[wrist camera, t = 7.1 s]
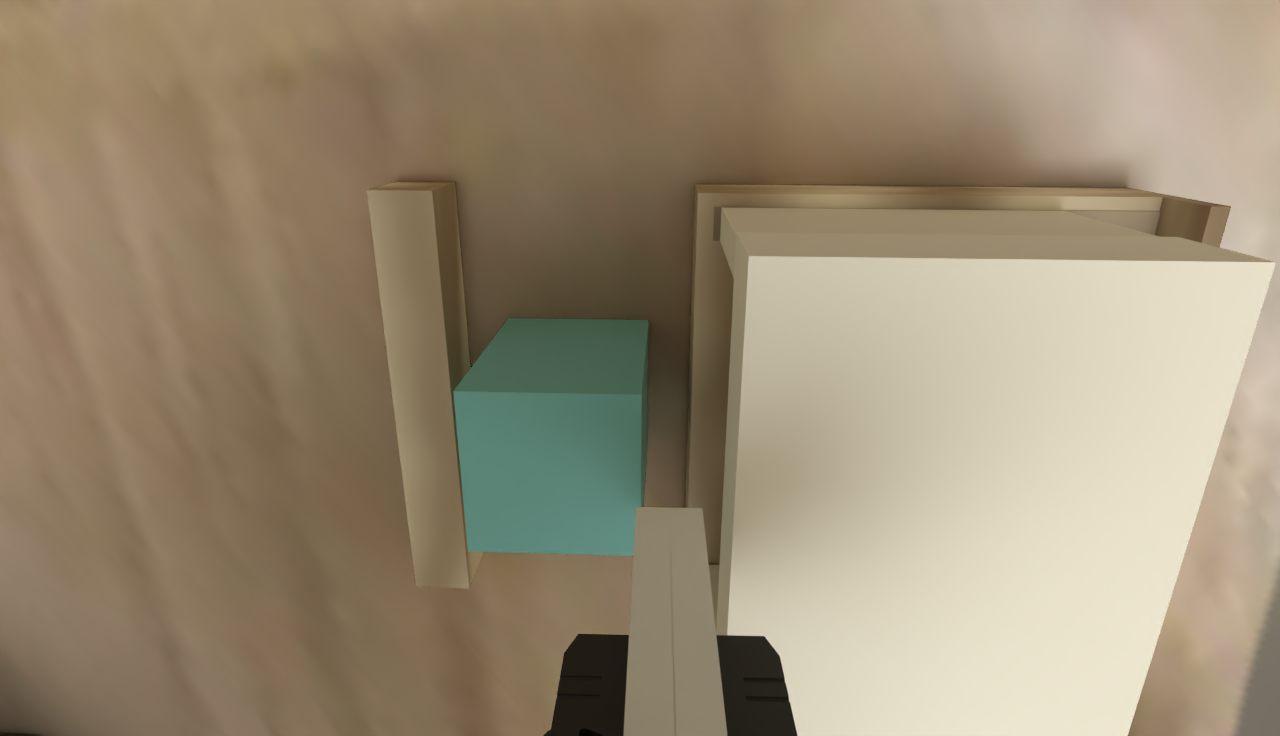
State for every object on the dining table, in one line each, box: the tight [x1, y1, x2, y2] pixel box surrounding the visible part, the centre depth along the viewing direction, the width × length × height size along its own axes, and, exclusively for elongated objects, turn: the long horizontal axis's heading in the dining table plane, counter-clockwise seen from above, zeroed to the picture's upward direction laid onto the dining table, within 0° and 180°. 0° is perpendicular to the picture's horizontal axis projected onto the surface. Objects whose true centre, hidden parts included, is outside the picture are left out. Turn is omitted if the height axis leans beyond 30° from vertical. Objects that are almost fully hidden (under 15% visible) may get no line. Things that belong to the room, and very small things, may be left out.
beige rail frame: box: [367, 182, 1231, 588], centre depth 24 cm, size 24×14×4 cm, turn 90°
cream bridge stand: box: [709, 207, 1276, 736], centre depth 20 cm, size 10×14×8 cm
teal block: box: [453, 318, 649, 556], centre depth 23 cm, size 5×5×7 cm
